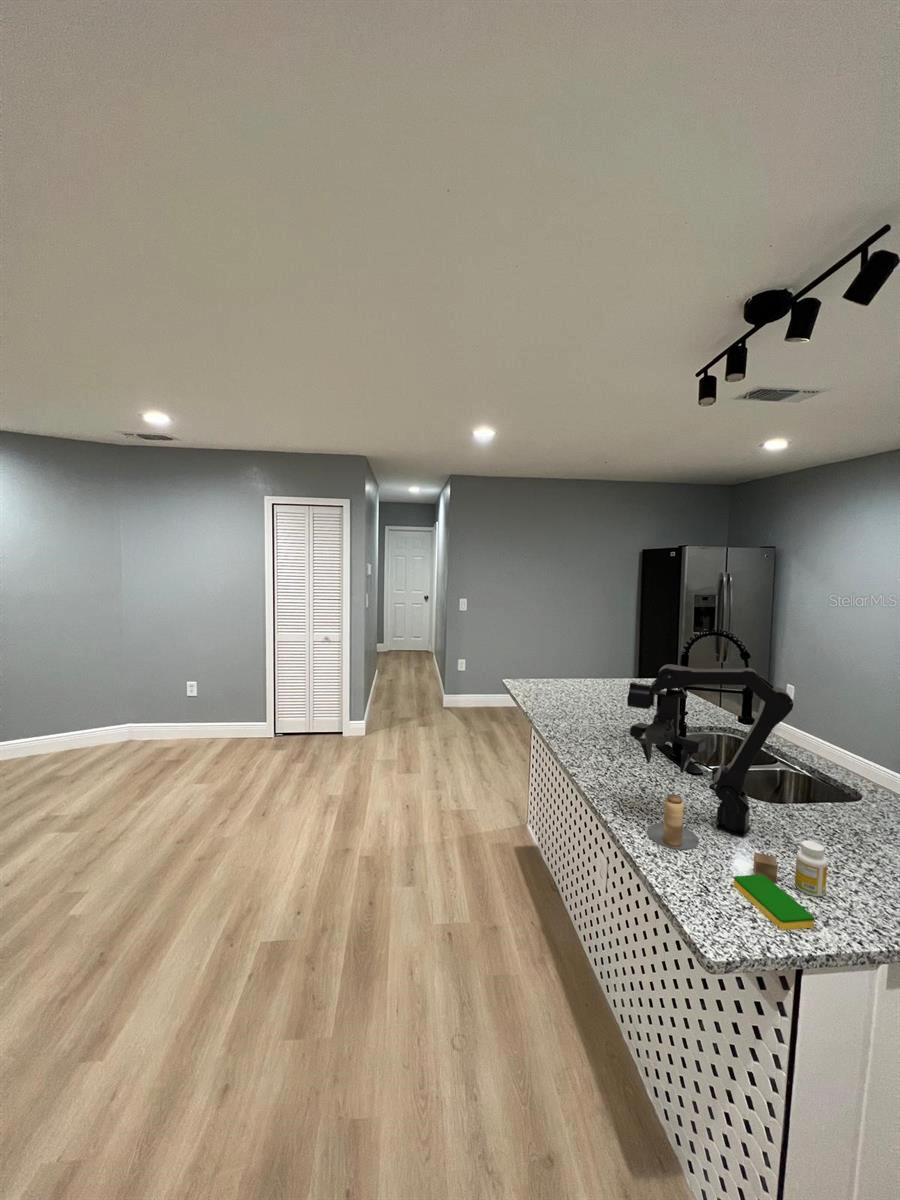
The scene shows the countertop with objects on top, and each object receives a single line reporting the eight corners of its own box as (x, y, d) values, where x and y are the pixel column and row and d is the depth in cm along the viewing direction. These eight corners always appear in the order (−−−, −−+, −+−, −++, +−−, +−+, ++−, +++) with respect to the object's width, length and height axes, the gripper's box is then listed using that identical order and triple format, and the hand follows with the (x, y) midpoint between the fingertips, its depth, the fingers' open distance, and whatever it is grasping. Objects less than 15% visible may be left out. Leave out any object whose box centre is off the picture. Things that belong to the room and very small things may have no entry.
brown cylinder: (685, 845, 126) (688, 799, 126) (672, 848, 125) (674, 802, 124) (672, 836, 130) (675, 792, 129) (659, 839, 129) (661, 794, 128)
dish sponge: (762, 884, 113) (763, 873, 113) (814, 929, 99) (815, 917, 99) (732, 886, 112) (733, 875, 112) (780, 932, 98) (781, 920, 98)
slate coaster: (706, 837, 131) (706, 836, 131) (686, 855, 123) (686, 854, 123) (659, 819, 140) (659, 818, 140) (638, 835, 131) (638, 834, 131)
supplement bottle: (812, 881, 114) (815, 838, 113) (831, 897, 108) (835, 852, 107) (788, 881, 113) (791, 838, 113) (806, 897, 108) (809, 852, 107)
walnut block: (774, 873, 116) (775, 856, 116) (776, 883, 113) (777, 866, 112) (753, 869, 118) (754, 852, 118) (755, 878, 114) (756, 861, 114)
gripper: (620, 709, 142) (618, 765, 143) (690, 726, 129) (687, 787, 130) (640, 702, 150) (637, 755, 151) (708, 717, 136) (704, 775, 137)
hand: (664, 767), depth 142 cm, fingers open, 9 cm apart
